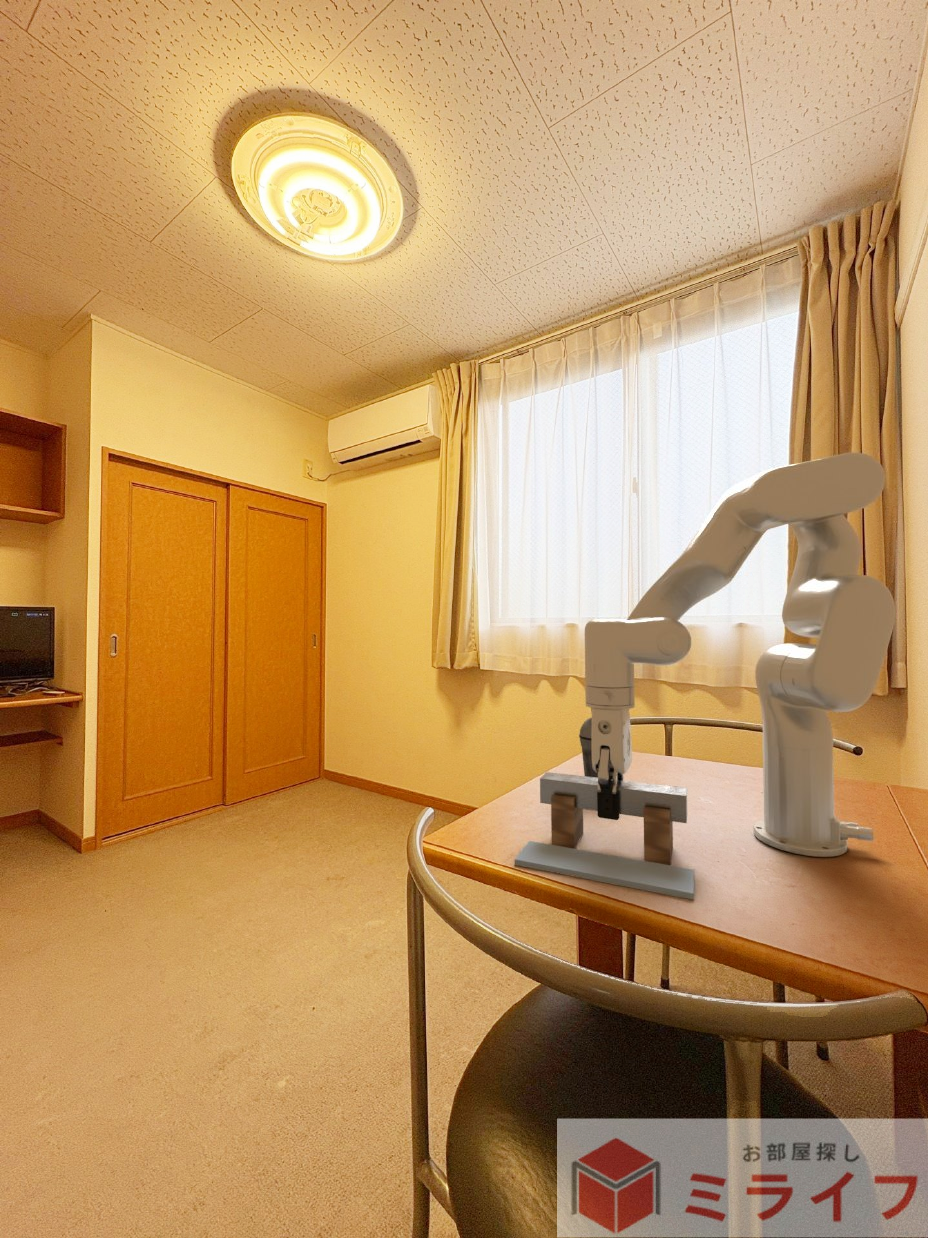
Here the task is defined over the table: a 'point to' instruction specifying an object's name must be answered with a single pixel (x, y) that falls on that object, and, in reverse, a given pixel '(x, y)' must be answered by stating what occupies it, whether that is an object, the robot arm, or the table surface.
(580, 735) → the beverage cup
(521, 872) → the table surface
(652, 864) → the grey board
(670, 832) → the post near
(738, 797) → the table surface
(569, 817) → the post far
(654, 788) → the rail
